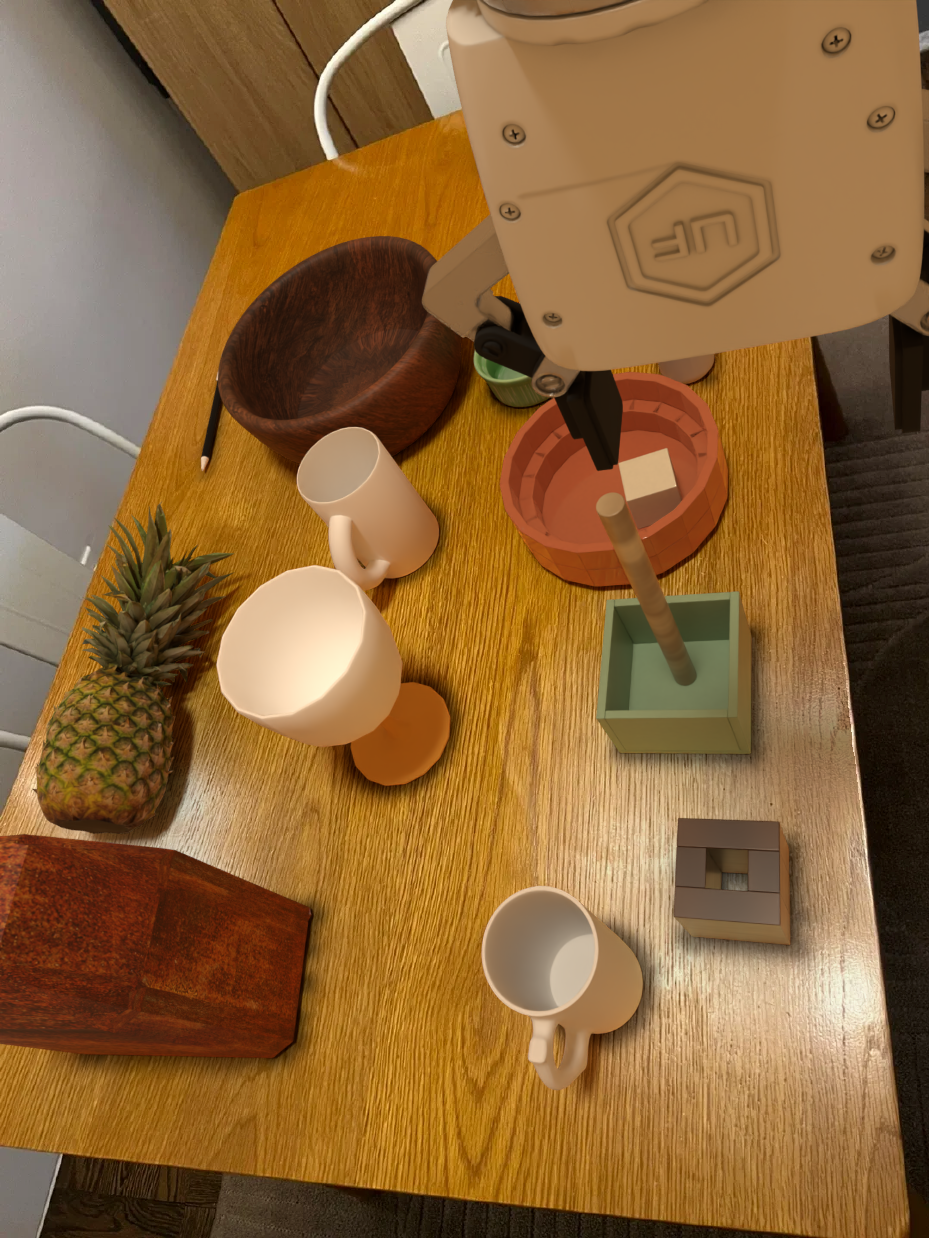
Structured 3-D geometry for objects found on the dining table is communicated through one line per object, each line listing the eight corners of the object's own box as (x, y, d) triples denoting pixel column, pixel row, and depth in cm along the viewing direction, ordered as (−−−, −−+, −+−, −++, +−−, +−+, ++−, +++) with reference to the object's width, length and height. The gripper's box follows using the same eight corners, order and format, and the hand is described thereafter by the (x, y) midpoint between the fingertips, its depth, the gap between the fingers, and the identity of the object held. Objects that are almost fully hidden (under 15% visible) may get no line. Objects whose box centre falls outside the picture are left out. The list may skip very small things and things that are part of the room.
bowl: (730, 405, 77) (720, 356, 72) (727, 583, 69) (714, 540, 64) (536, 433, 84) (514, 390, 80) (512, 597, 76) (486, 560, 72)
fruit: (79, 807, 68) (147, 467, 80) (-4, 822, 75) (70, 508, 87) (223, 836, 77) (264, 530, 89) (138, 847, 84) (187, 562, 96)
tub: (751, 635, 66) (739, 590, 61) (750, 754, 62) (737, 717, 57) (628, 641, 70) (606, 599, 65) (619, 753, 66) (595, 718, 61)
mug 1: (342, 619, 83) (269, 549, 73) (370, 510, 88) (306, 432, 78) (422, 616, 79) (357, 542, 70) (447, 503, 84) (389, 420, 75)
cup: (481, 671, 74) (387, 563, 60) (447, 811, 69) (337, 726, 56) (359, 665, 79) (248, 564, 66) (320, 794, 74) (191, 713, 61)
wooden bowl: (335, 307, 106) (288, 236, 98) (520, 310, 93) (483, 229, 85) (233, 479, 98) (173, 418, 90) (420, 509, 85) (370, 440, 77)
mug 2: (552, 924, 62) (489, 882, 52) (649, 931, 59) (602, 888, 50) (537, 1088, 57) (465, 1075, 48) (642, 1104, 55) (588, 1093, 45)
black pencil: (233, 349, 110) (227, 342, 109) (208, 472, 100) (202, 466, 99) (227, 351, 110) (221, 344, 109) (201, 474, 101) (195, 468, 100)
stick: (694, 664, 66) (622, 488, 49) (698, 683, 66) (626, 511, 48) (672, 669, 67) (593, 496, 49) (676, 688, 66) (597, 519, 49)
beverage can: (667, 347, 83) (638, 242, 74) (720, 345, 81) (697, 237, 71) (655, 388, 81) (623, 286, 72) (709, 387, 79) (683, 282, 69)
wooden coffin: (296, 1058, 64) (-161, 983, 37) (84, 1054, 71) (-438, 988, 43) (315, 908, 69) (-74, 742, 42) (115, 918, 76) (-333, 781, 48)
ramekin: (591, 382, 85) (578, 349, 81) (505, 428, 86) (489, 397, 83) (558, 327, 90) (544, 294, 86) (478, 371, 91) (461, 340, 88)
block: (686, 515, 73) (677, 486, 69) (637, 529, 74) (626, 501, 71) (676, 477, 75) (667, 447, 72) (629, 491, 76) (618, 462, 73)
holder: (789, 848, 58) (779, 820, 54) (790, 944, 56) (780, 925, 51) (694, 843, 61) (677, 817, 56) (691, 936, 58) (673, 916, 53)
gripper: (219, 94, 19) (500, 534, 33) (1249, -274, 12) (1063, 479, 26) (300, -92, 23) (524, 377, 36) (1143, -463, 16) (1028, 291, 29)
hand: (748, 419), depth 31 cm, fingers open, 9 cm apart
